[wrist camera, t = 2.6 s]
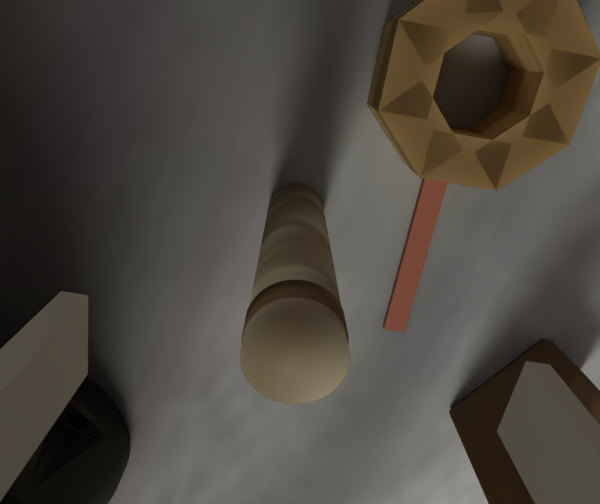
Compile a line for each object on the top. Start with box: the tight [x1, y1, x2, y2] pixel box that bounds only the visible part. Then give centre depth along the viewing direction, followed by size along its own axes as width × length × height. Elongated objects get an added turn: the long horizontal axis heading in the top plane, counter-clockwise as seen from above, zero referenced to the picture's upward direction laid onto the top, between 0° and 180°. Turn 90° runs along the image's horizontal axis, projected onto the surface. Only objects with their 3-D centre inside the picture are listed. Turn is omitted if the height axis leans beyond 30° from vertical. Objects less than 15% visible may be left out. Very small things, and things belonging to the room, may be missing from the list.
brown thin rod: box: [383, 178, 447, 332], centre depth 30 cm, size 11×1×1 cm, turn 170°
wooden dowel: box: [240, 183, 350, 404], centre depth 22 cm, size 4×4×16 cm
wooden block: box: [450, 339, 600, 504], centre depth 26 cm, size 9×4×18 cm, turn 136°
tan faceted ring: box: [367, 0, 600, 191], centre depth 25 cm, size 10×10×4 cm
